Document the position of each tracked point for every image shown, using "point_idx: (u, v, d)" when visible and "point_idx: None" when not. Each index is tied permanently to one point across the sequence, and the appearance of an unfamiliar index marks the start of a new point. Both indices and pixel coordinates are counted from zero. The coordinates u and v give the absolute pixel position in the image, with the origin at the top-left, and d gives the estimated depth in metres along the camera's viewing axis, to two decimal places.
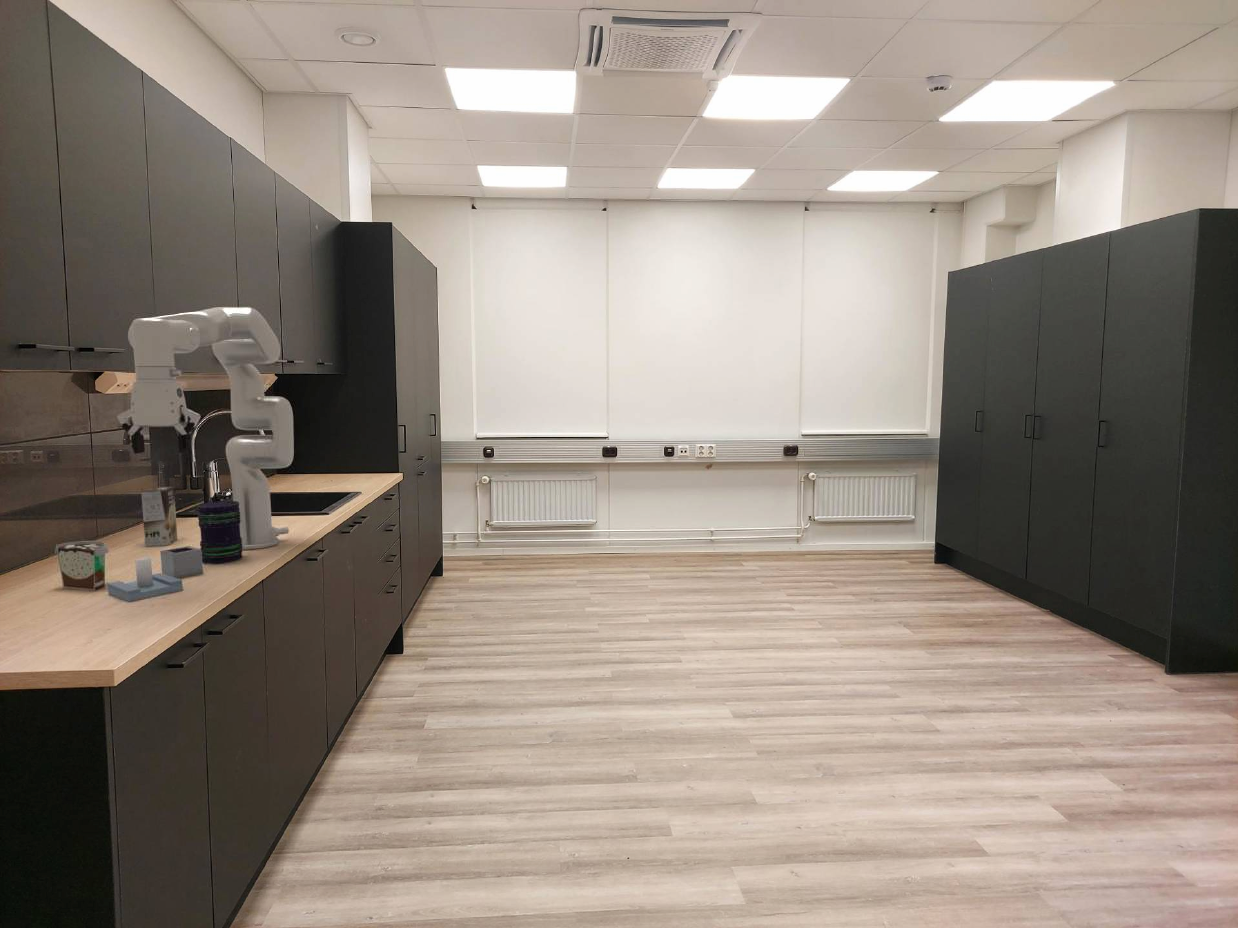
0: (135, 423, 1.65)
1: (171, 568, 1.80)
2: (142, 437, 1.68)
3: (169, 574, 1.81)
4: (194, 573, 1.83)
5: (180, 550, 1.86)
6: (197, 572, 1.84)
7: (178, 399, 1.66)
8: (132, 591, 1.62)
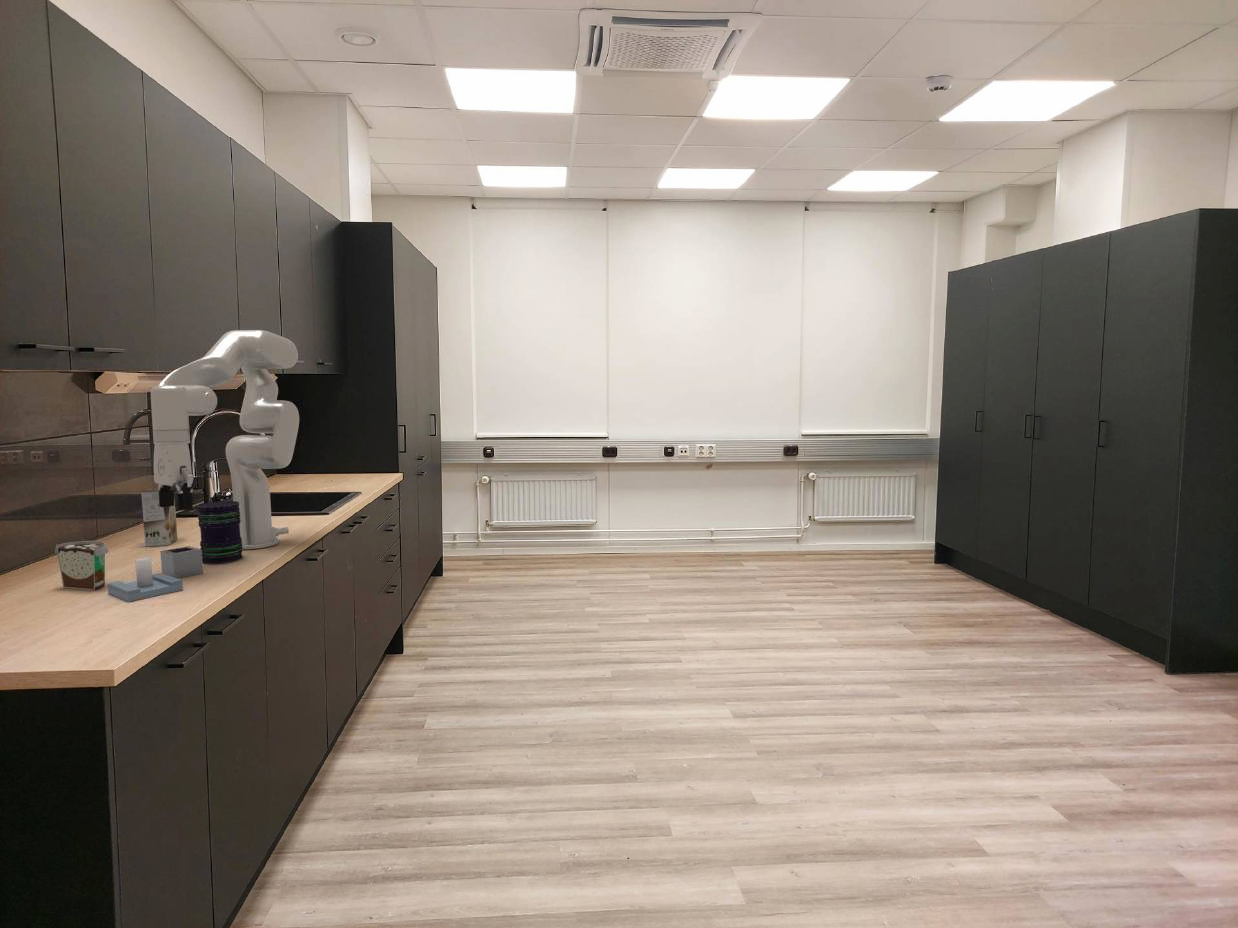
0: None
1: (171, 568, 1.80)
2: None
3: (169, 574, 1.81)
4: (194, 573, 1.83)
5: (180, 550, 1.86)
6: (197, 572, 1.84)
7: None
8: (132, 591, 1.62)
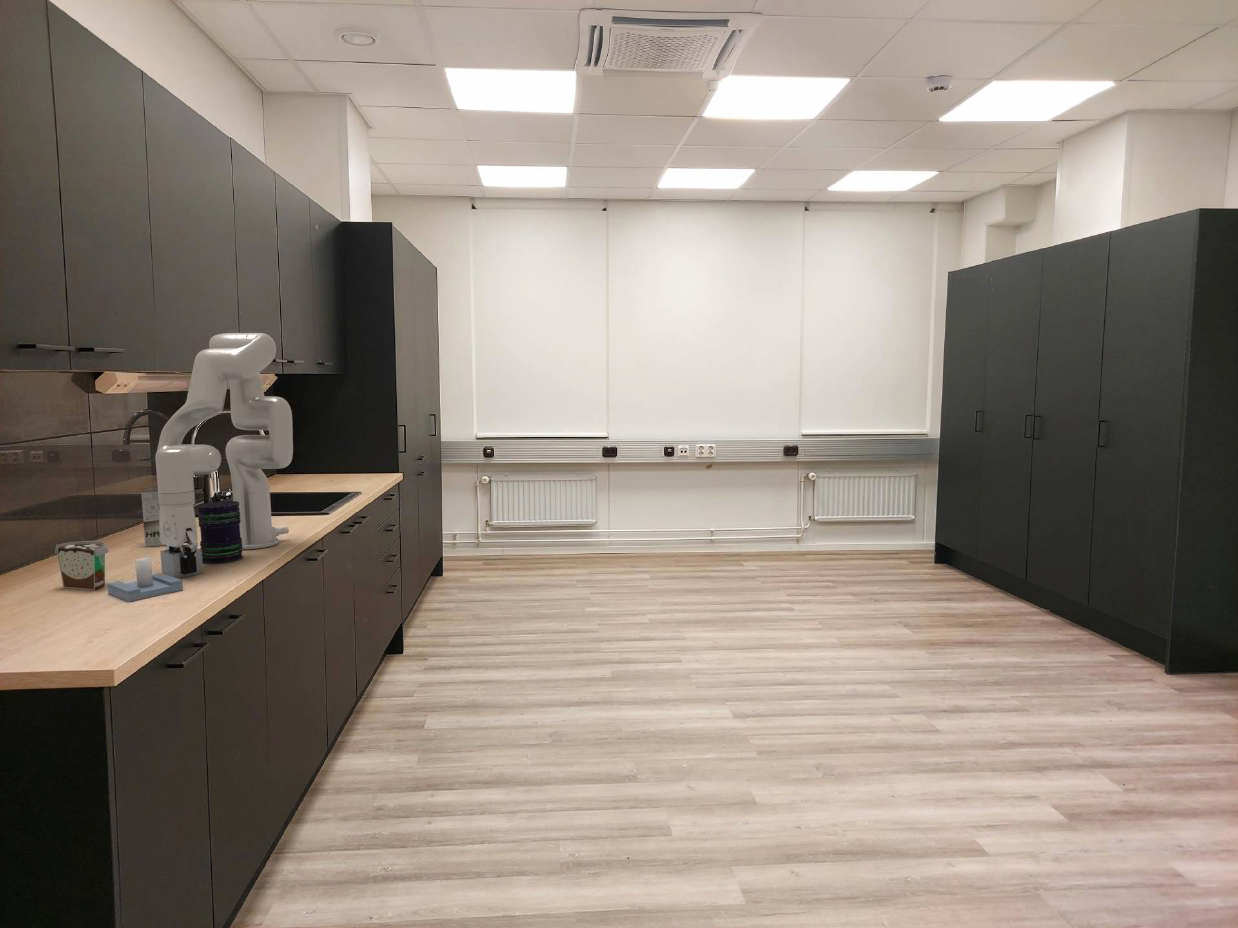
0: None
1: (171, 568, 1.80)
2: None
3: (169, 574, 1.81)
4: (194, 573, 1.83)
5: (180, 550, 1.86)
6: (197, 572, 1.84)
7: None
8: (132, 591, 1.62)
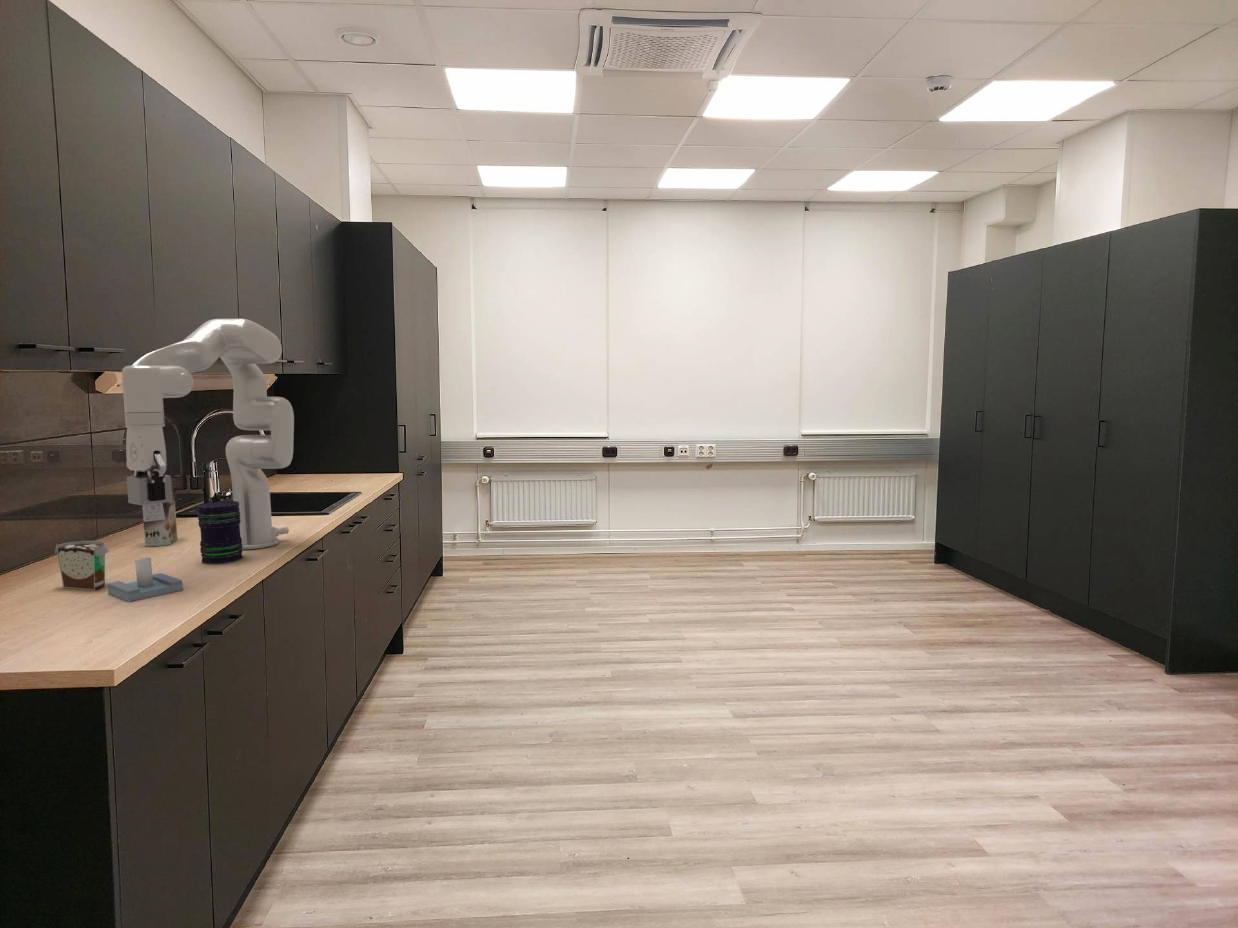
0: None
1: (138, 493, 1.67)
2: None
3: (135, 501, 1.68)
4: (163, 501, 1.71)
5: None
6: (166, 500, 1.71)
7: None
8: (132, 591, 1.62)
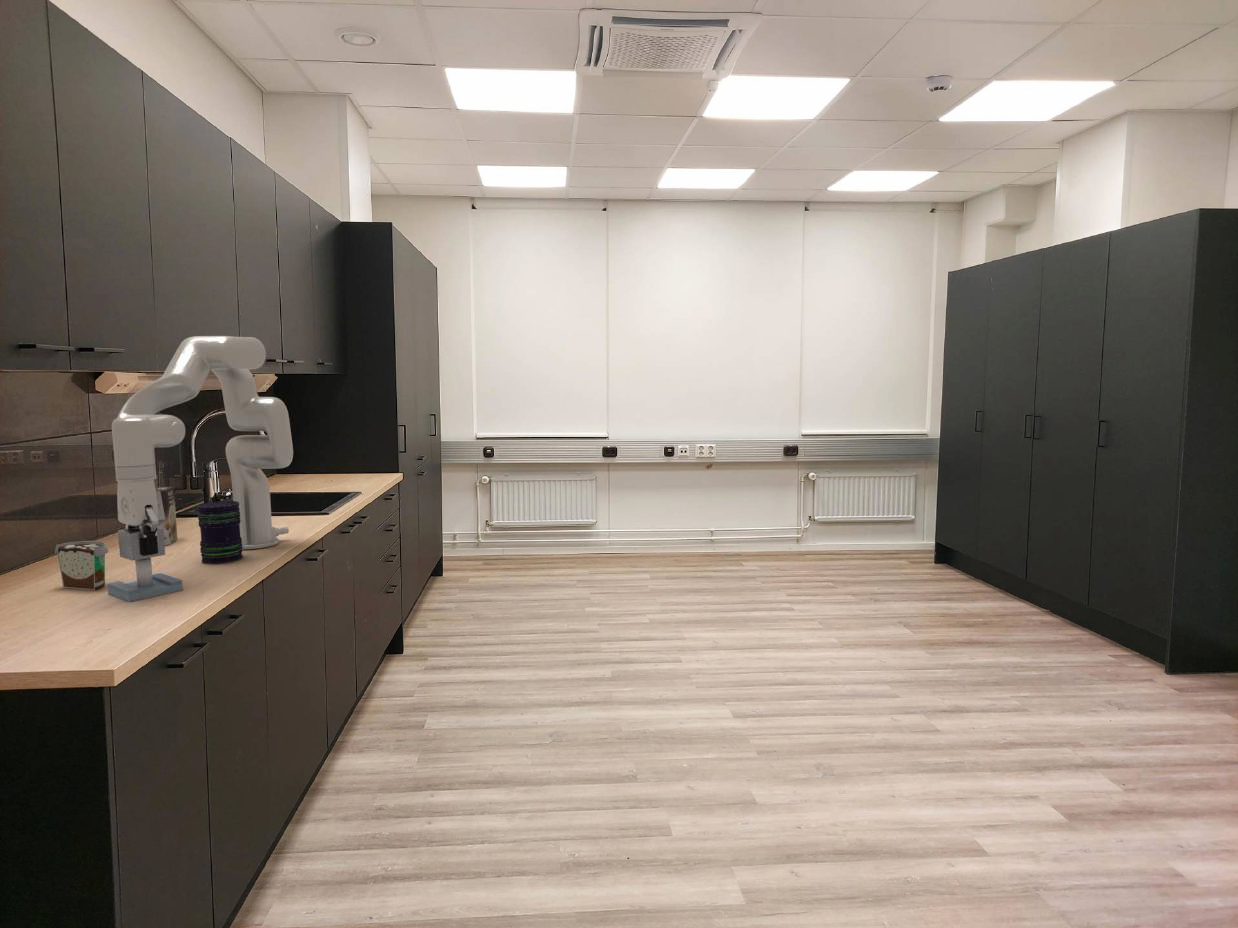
0: None
1: (129, 548, 1.64)
2: None
3: (127, 555, 1.65)
4: (155, 554, 1.67)
5: None
6: (158, 553, 1.68)
7: None
8: (132, 591, 1.62)
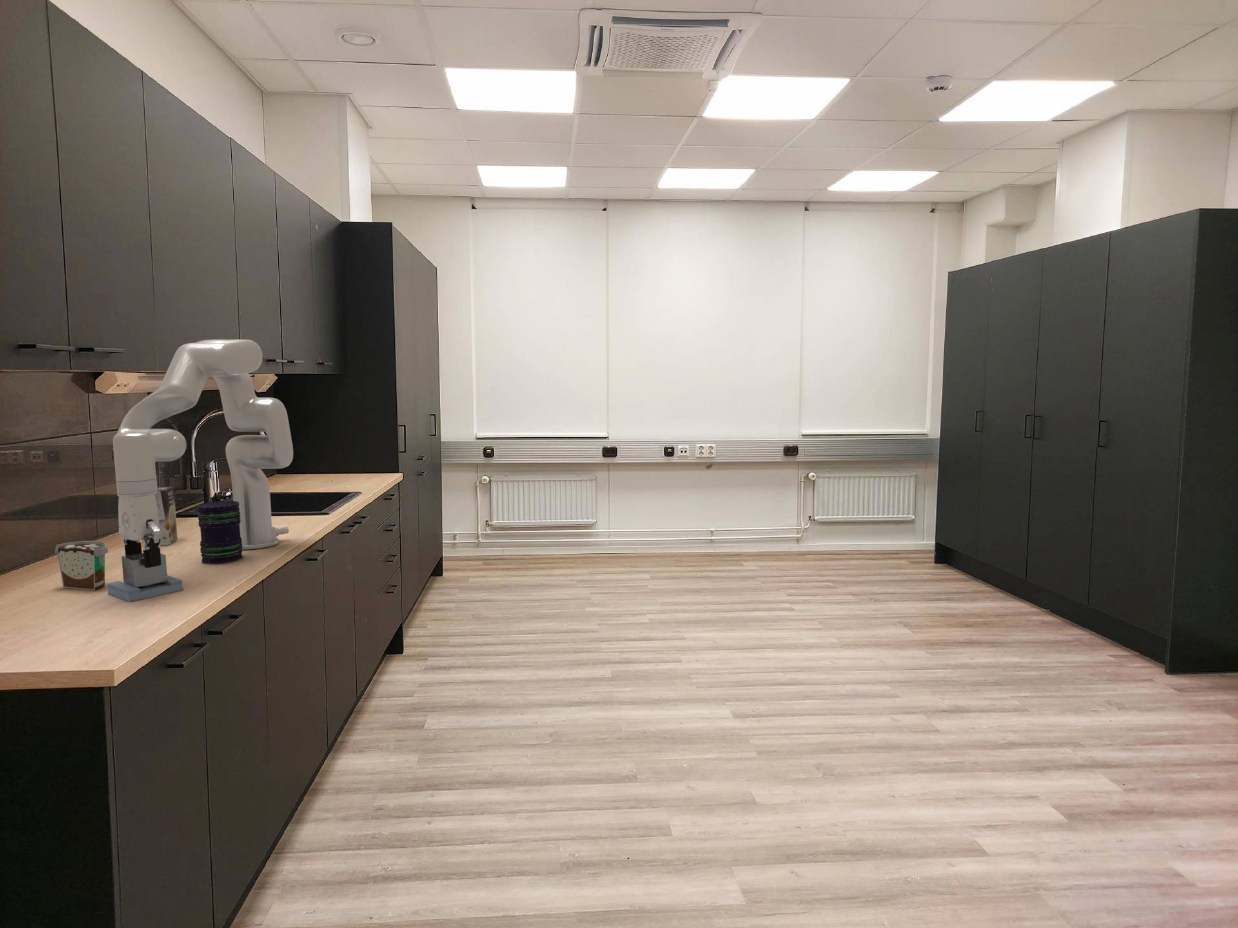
0: None
1: (132, 575, 1.65)
2: None
3: (130, 582, 1.66)
4: (157, 581, 1.68)
5: None
6: (161, 580, 1.68)
7: None
8: (132, 591, 1.62)
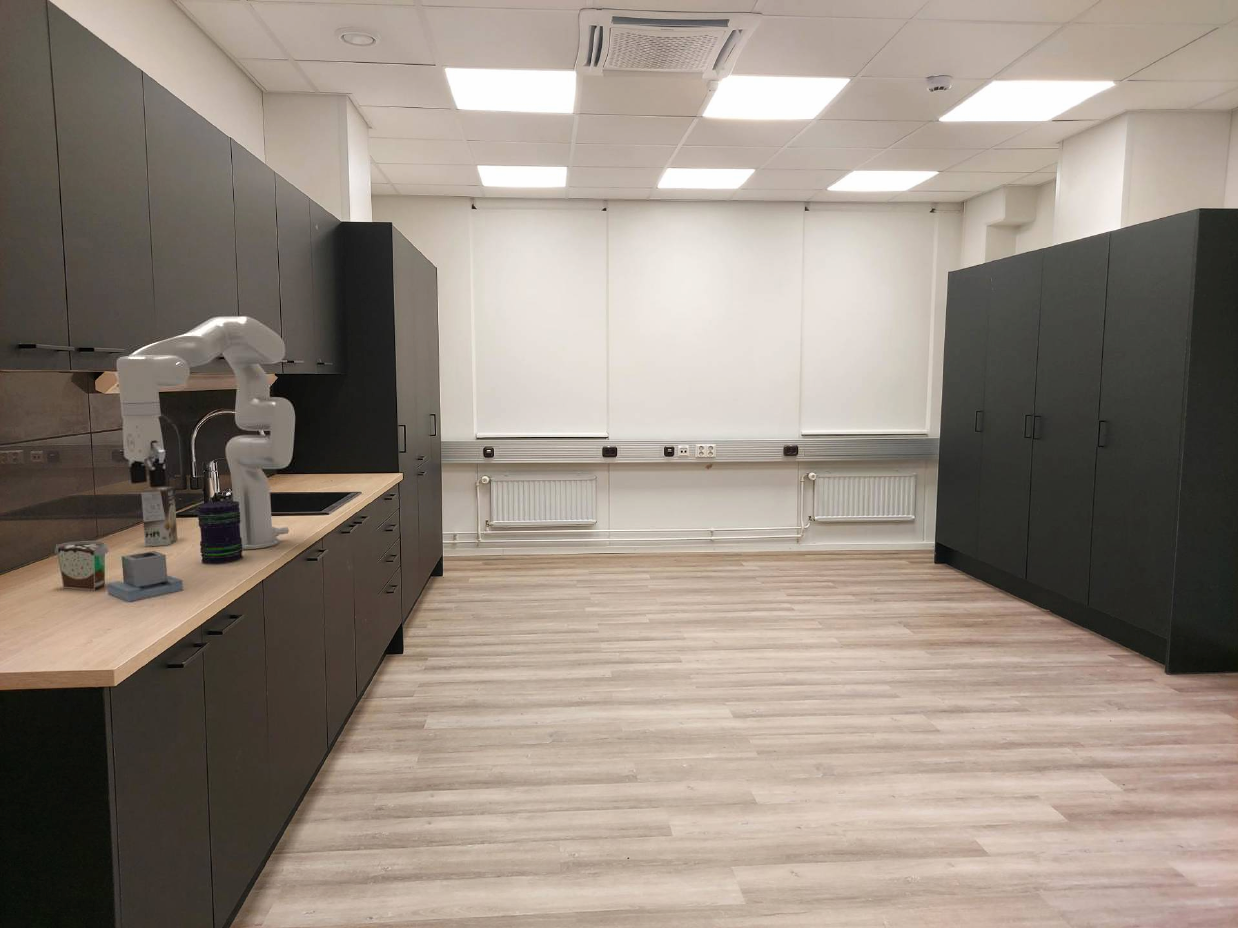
0: None
1: (132, 575, 1.65)
2: None
3: (130, 582, 1.66)
4: (157, 581, 1.68)
5: (144, 555, 1.70)
6: (161, 580, 1.68)
7: None
8: (132, 591, 1.62)
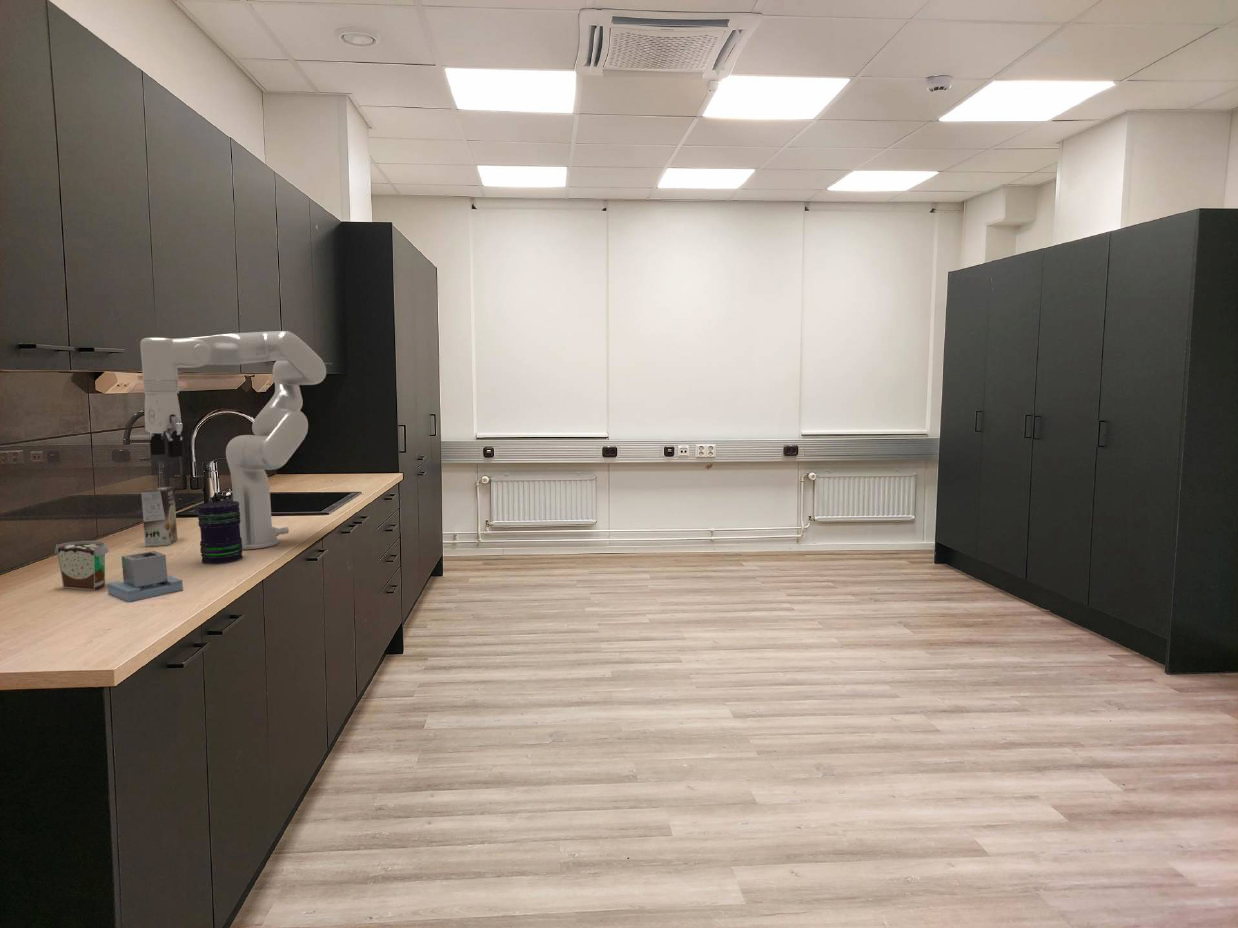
0: None
1: (132, 575, 1.65)
2: None
3: (130, 582, 1.66)
4: (157, 581, 1.68)
5: (144, 555, 1.70)
6: (161, 580, 1.68)
7: None
8: (132, 591, 1.62)
